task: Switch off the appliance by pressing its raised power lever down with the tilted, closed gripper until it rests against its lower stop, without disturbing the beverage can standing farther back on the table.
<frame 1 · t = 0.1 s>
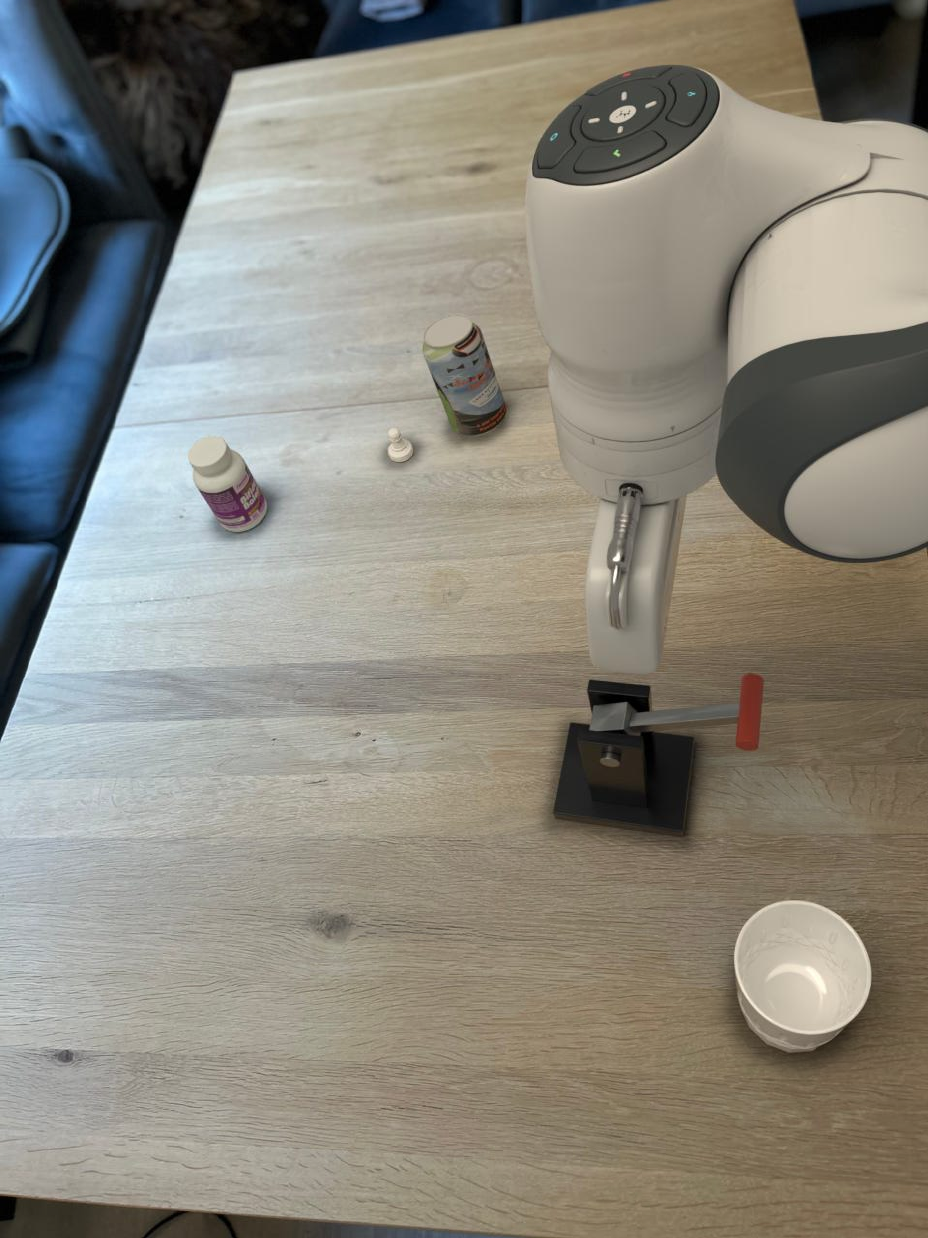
hand: (653, 575, 61), 24 cm above the table, tool pointing down, fingers open, 8 cm apart
switch bracket: (624, 780, 79), on the table
power lever: (675, 719, 68), point 12 cm above the table, hinge at 25.0°
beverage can: (476, 421, 104), on the table
white cup: (789, 1001, 68), on the table
pill bottle: (245, 514, 103), on the table
chess pawn: (402, 454, 104), on the table
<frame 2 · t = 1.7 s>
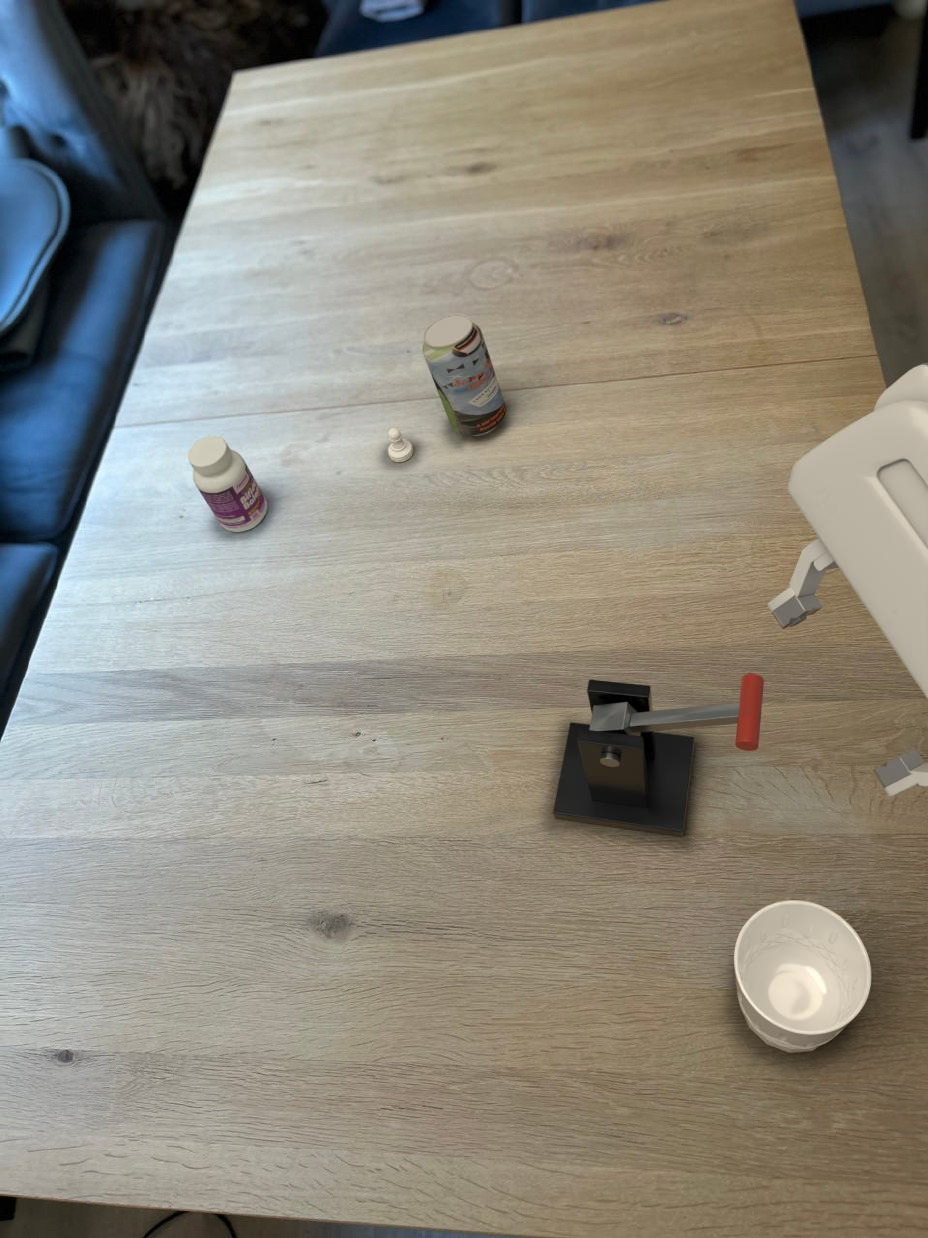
hand: (830, 696, 49), 28 cm above the table, tool tilted 45°, fingers open, 8 cm apart
nothing on the table moved.
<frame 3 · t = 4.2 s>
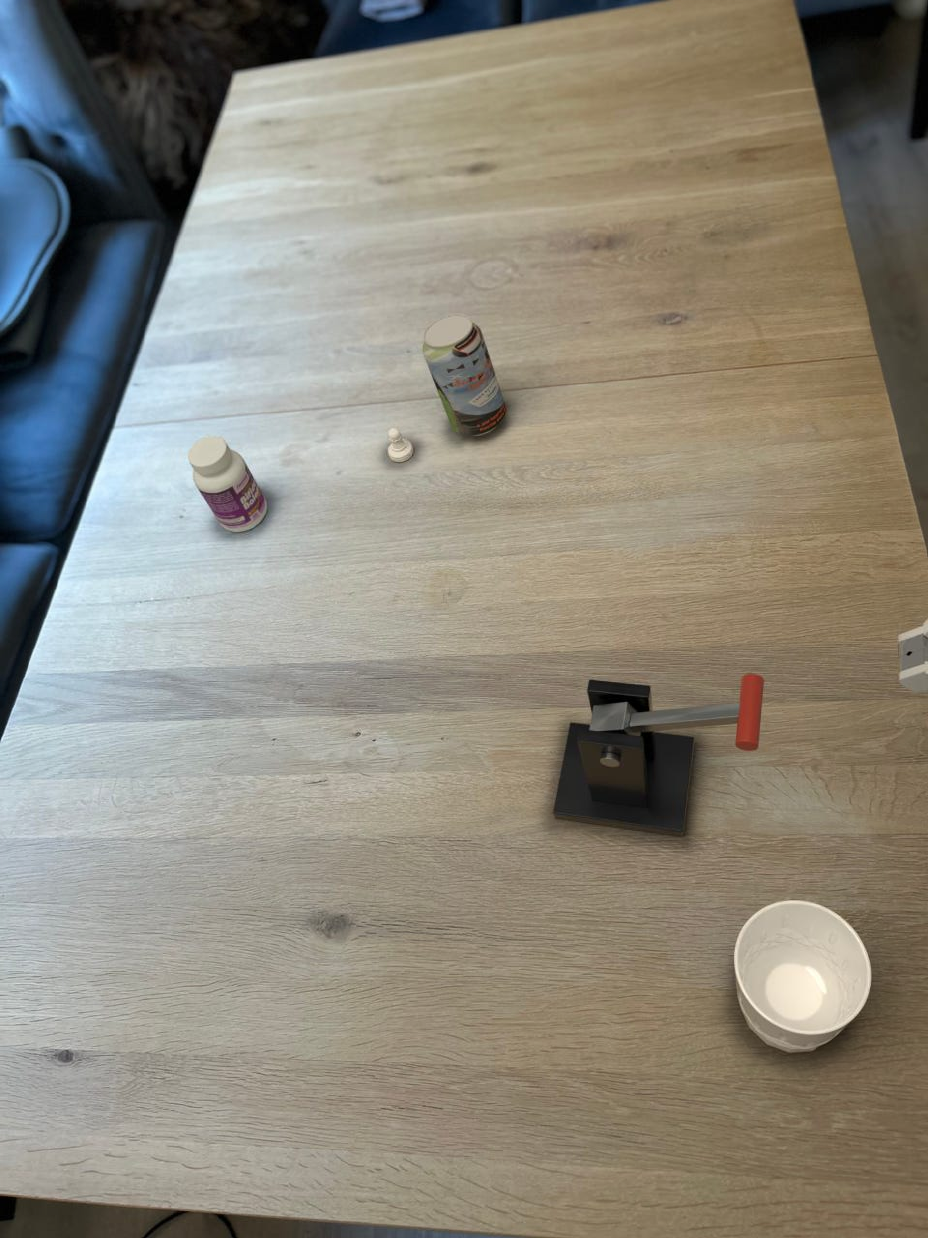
hand: (904, 664, 55), 23 cm above the table, tool tilted 45°, fingers closed
nothing on the table moved.
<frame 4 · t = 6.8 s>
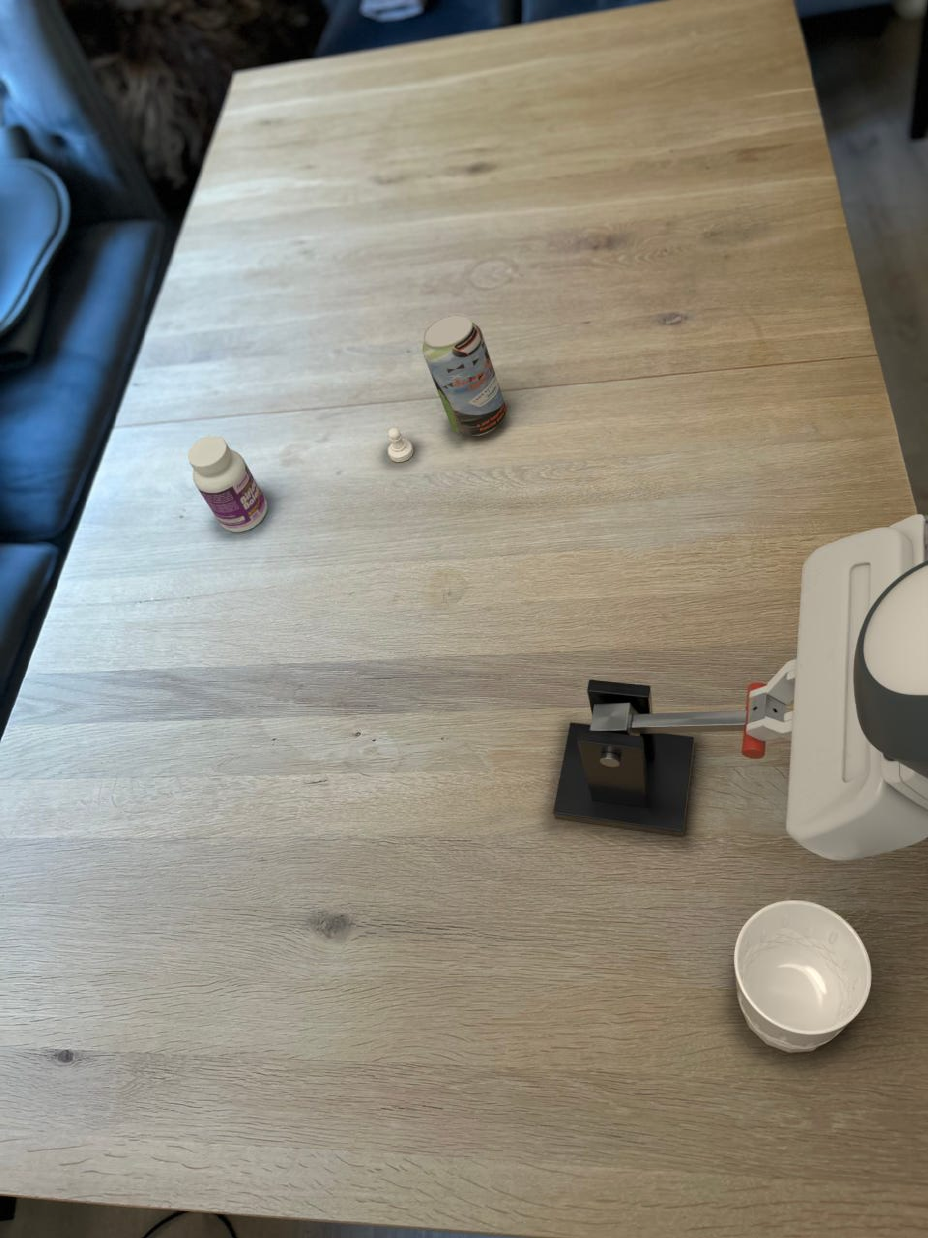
hand: (754, 717, 65), 14 cm above the table, tool tilted 45°, fingers closed, pressing on power lever
power lever: (678, 722, 68), point 11 cm above the table, hinge at 18.1°, touching gripper
everything else where it was.
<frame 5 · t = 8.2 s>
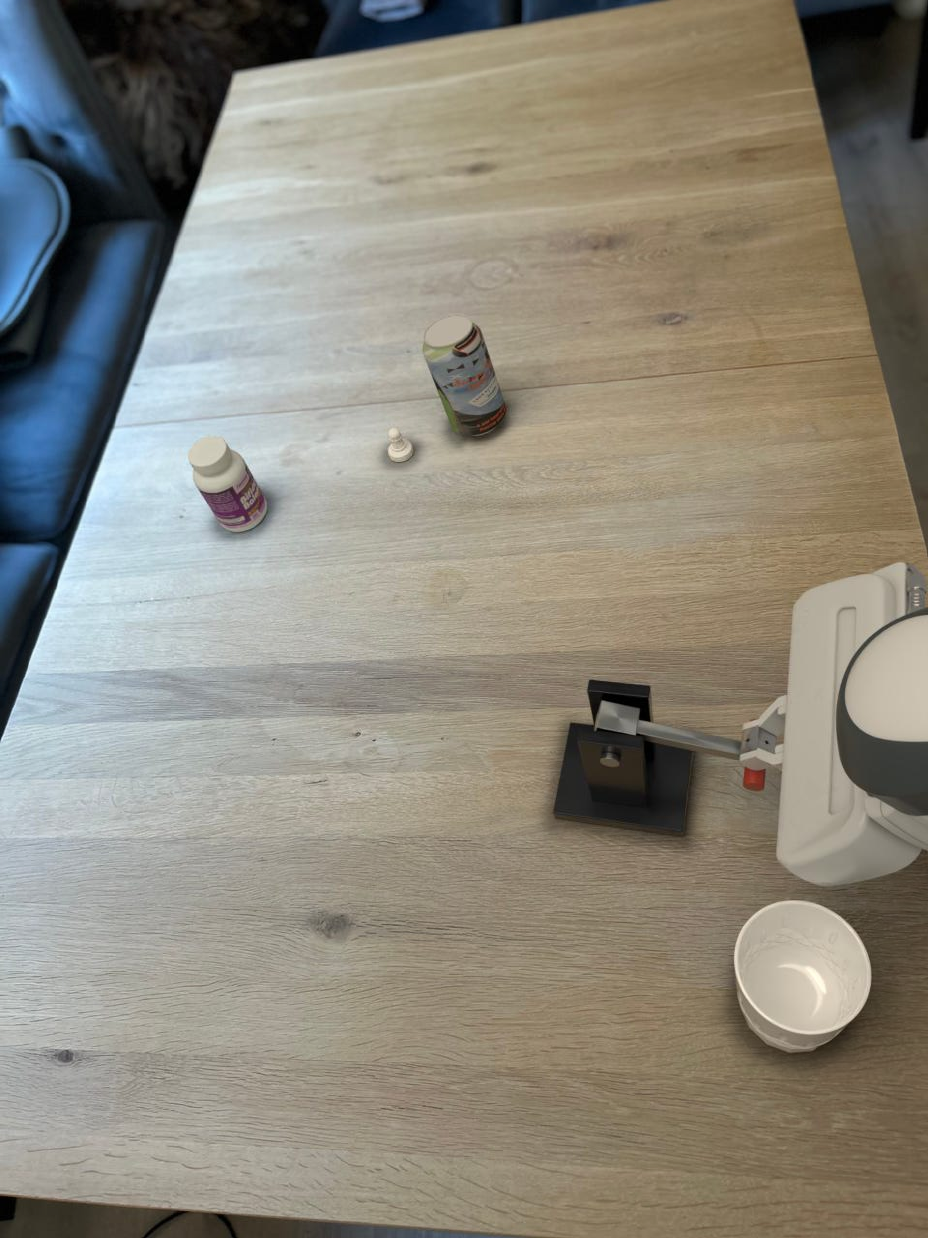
hand: (747, 748, 69), 9 cm above the table, tool tilted 45°, fingers closed
power lever: (680, 738, 70), point 9 cm above the table, hinge at -12.6°, touching gripper
everything else where it was.
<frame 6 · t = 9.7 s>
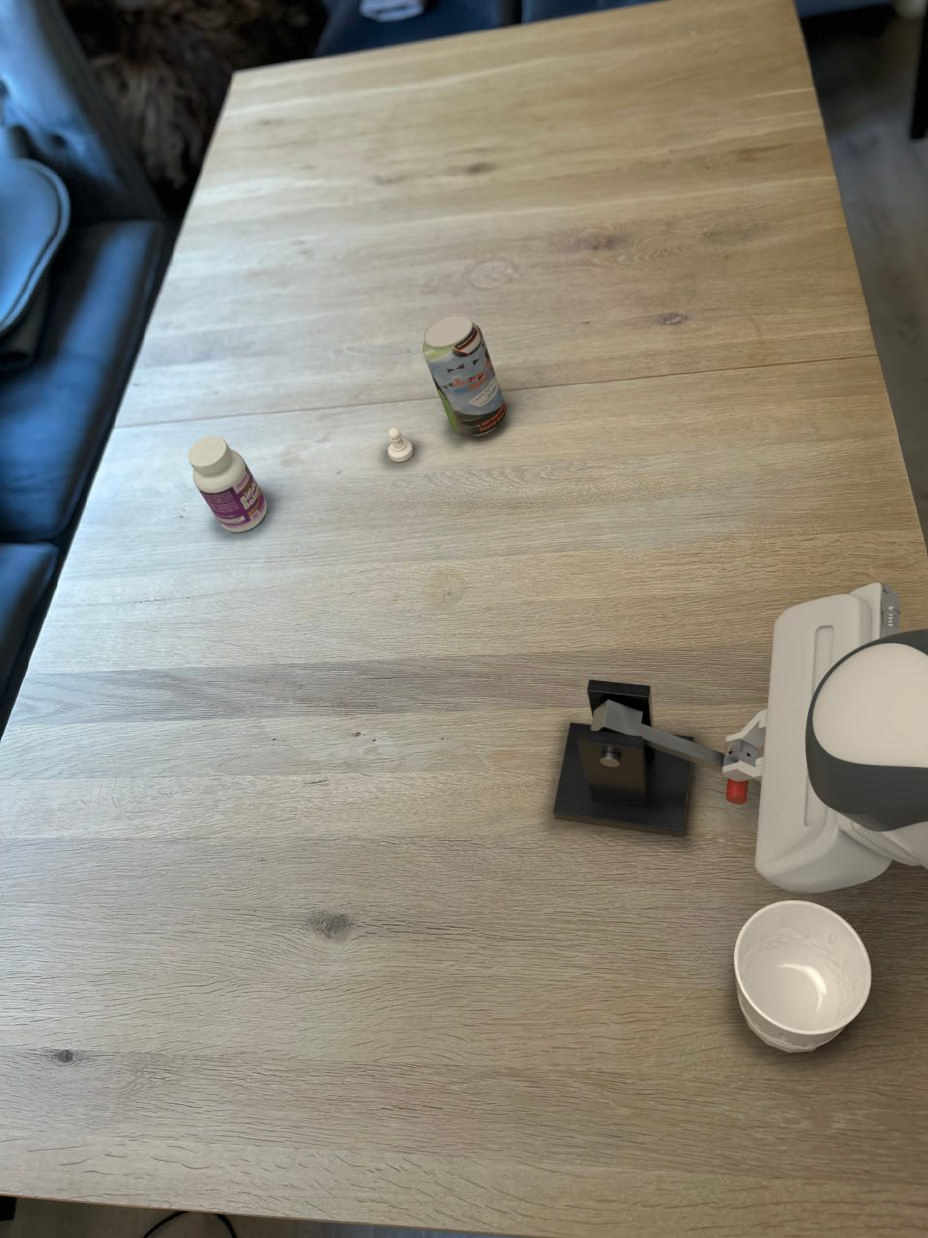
hand: (729, 759, 72), 6 cm above the table, tool tilted 45°, fingers closed, pressing on power lever
power lever: (674, 745, 72), point 8 cm above the table, hinge at -29.9°, touching gripper
everything else where it was.
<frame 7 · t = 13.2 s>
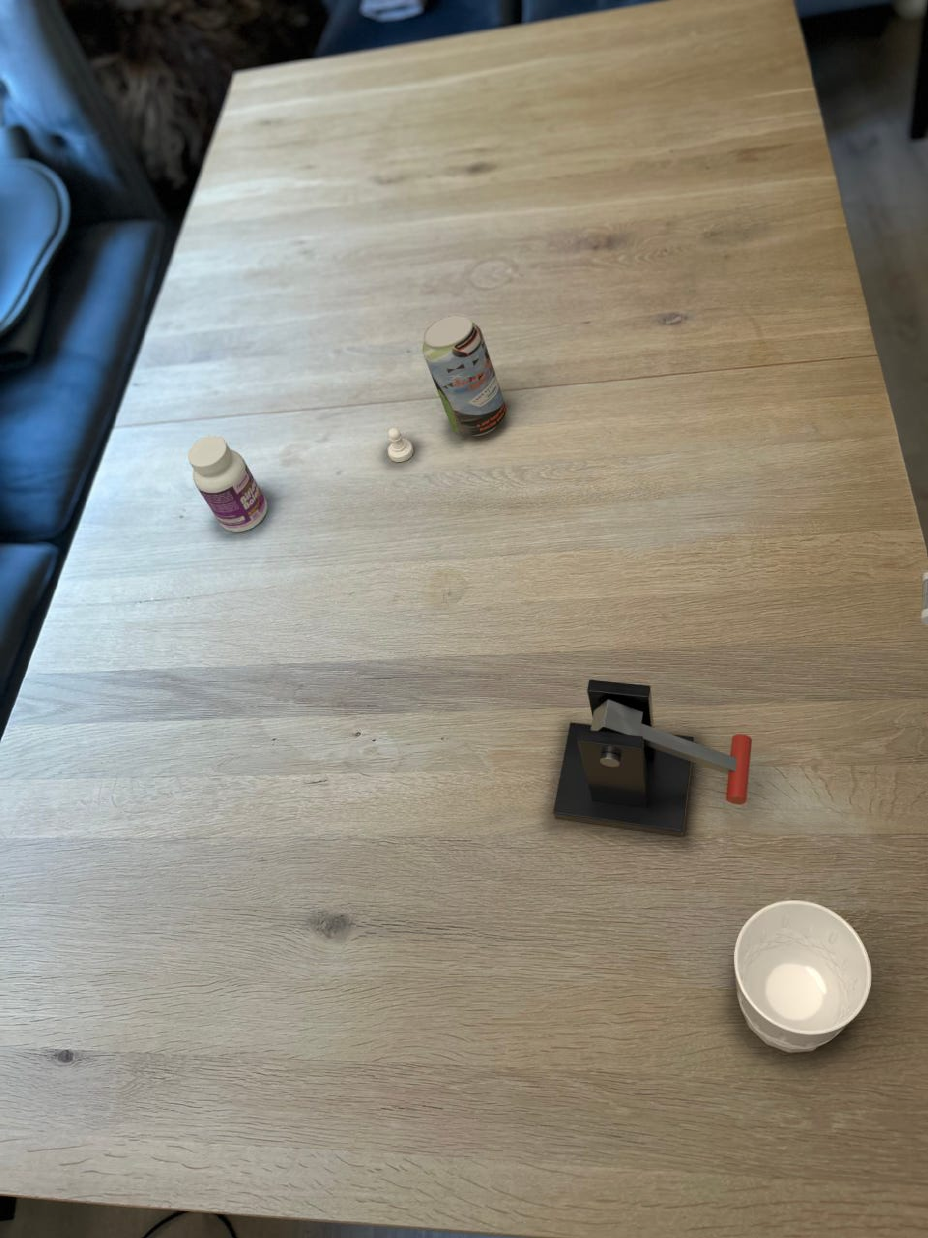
power lever: (674, 745, 72), point 8 cm above the table, hinge at -29.9°
everything else where it was.
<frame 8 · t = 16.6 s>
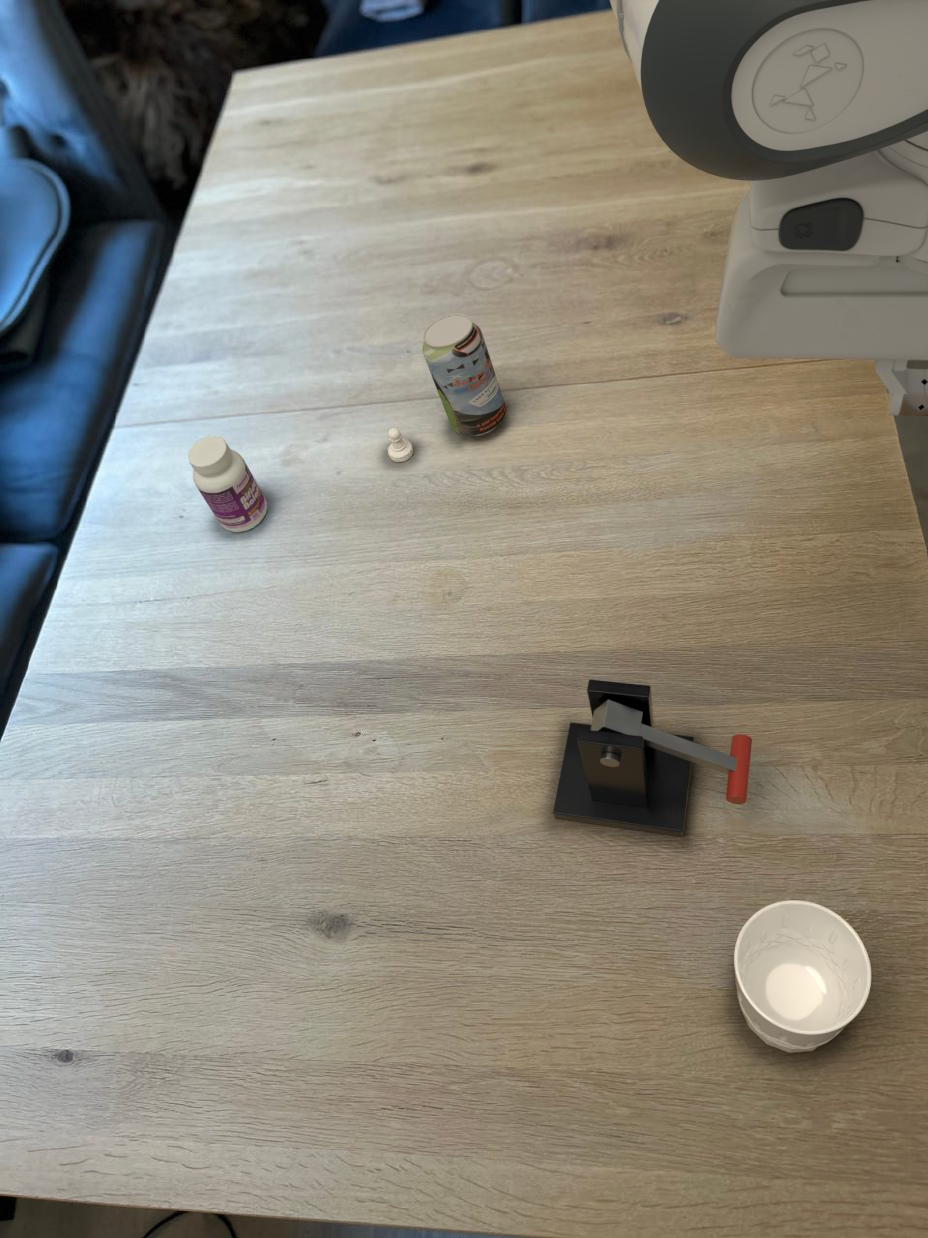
hand: (918, 407, 51), 34 cm above the table, tool pointing down, fingers closed
nothing on the table moved.
at the end: power lever at -30° (first picture: +25°); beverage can moved 0.2 cm from its start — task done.
